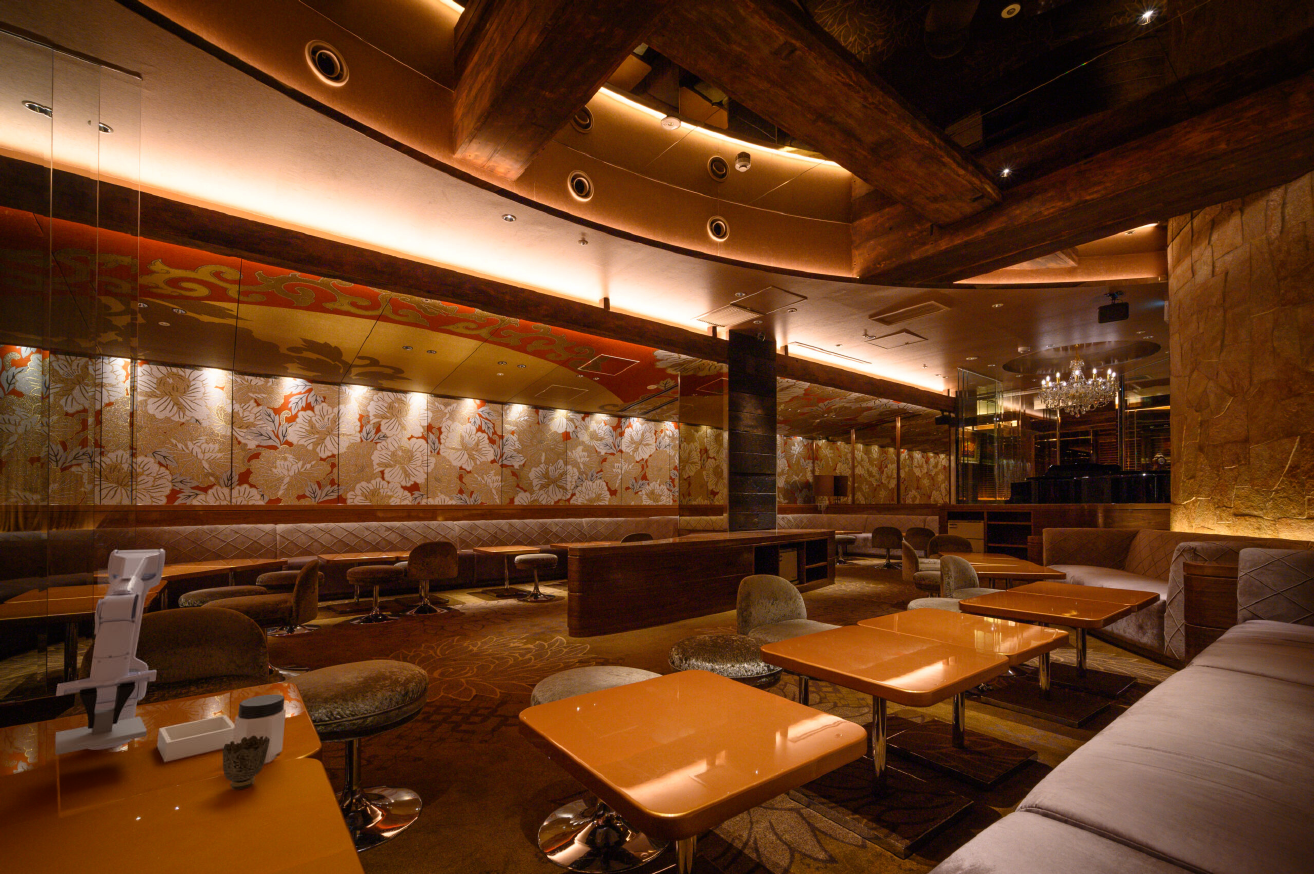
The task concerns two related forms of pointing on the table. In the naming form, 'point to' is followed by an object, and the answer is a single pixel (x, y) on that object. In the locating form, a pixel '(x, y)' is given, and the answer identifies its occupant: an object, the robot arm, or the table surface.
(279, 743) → the jar
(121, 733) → the lid
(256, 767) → the cup
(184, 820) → the table surface
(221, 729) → the box
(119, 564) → the robot arm
